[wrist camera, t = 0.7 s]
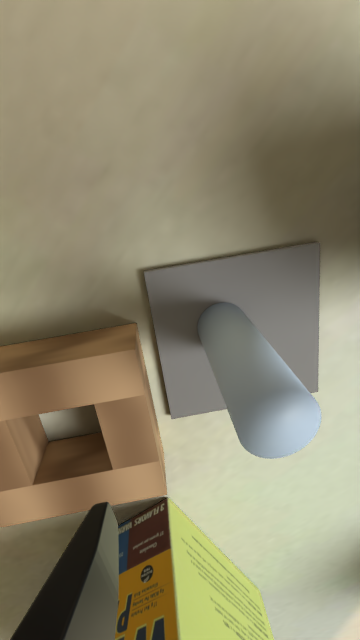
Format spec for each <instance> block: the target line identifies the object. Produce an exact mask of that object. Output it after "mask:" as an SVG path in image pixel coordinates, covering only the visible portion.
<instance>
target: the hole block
mask: <svg viewBox="0 0 360 640" xmlns="http://www.w3.org/2000/svg"><path fill="white" fill-rule="evenodd" d="M92 404H94V406H95V410H96V413H97V417H98V420H99V423H100V427H101V430H102V432H100V433H94V434H89V435H84V436H78V437H73V438H68V439H62V440H57V441H52V442H48V439H47V436H46V434H45V431H44V428H43V426H42V423H41V420H40V418H39V415H38V414H42V413H48V412H53V411H59V410H64V409H70V408H75V407H81V406H86V405H92ZM163 495H167V488H166V475H165V463H164V452H163V447H162V442H161V437H160V433H159V428H158V423H157V419H156V414H155V409H154V404H153V400H152V395H151V390H150V385H149V381H148V376H147V371H146V366H145V362H144V357H143V352H142V347H141V343H140V338H139V333H138V328H137V324H136V323H133V324H127V325H121V326H115V327H110V328H104V329H98V330H92V331H87V332H81V333H75V334H69V335H64V336H58V337H52V338H46V339H41V340H35V341H29V342H23V343H18V344H12V345H6V346H0V527H6V526H11V525H16V524H21V523H26V522H31V521H36V520H41V519H46V518H51V517H57V516H62V515H67V514H72V513H77V512H82V511H87V510H90V509H91V507H92V506H93V505H94V504H97V503H102V502H109V503H110V505H111V506H112V505H117V504H122V503H127V502H133V501H138V500H143V499H148V498H153V497H158V496H163Z"/></svg>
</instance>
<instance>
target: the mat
mask: <svg viewBox="0 0 360 640" xmlns="http://www.w3.org/2000/svg"><path fill="white" fill-rule="evenodd" d="M144 276H145V282H146V287H147V292H148V297H149V303H150V308H151V313H152V319H153V324H154V329H155V334H156V340H157V345H158V350H159V355H160V361H161V366H162V371H163V376H164V382H165V387H166V392H167V398H168V403H169V408H170V413H171V419H175V418H181V417H186V416H191V415H197V414H202V413H207V412H213V411H218V410H223V409H227V407H226V404H225V402H224V399H223V396H222V394H221V391H220V389H219V386H218V384H217V381H216V378H215V376H214V373H213V371H212V368H211V365H210V363H209V360H208V358H207V355H206V352H205V350H204V347H203V345H202V342H201V340H200V337H199V334H198V329H197V326H198V321H199V318H200V316H201V315H202V313H203V312H204V311H205V310H206V309H207V308H208V307H210V306H212V305H214V304H217V303H222V302H227V303H232V304H234V305H236V306H238V307H239V308H240V309H241V310H242V311H243V312H244V313H245V315H246V316H247V317H248V318H249V319H250V321H251V322H252V323H253V324H254V325H255V327H256V328H257V329H258V330H259V332H260V333H261V334H262V335H263V336H264V338H265V339H266V340H267V341H268V342H269V344H270V345H271V346H272V347H273V349H274V350H275V351H276V352H277V353H278V355H279V356H280V357H281V358H282V359H283V361H284V362H285V363H286V364H287V366H288V367H289V368H290V369H291V370H292V372H293V373H294V374H295V375H296V376H297V378H298V379H299V380H300V381H301V383H302V384H303V385H304V386H305V387H306V389H307V390H308V391H309V392H310V393H314V392H318V353H319V287H320V243H319V242H313V243H307V244H301V245H295V246H289V247H283V248H277V249H271V250H265V251H259V252H253V253H247V254H241V255H235V256H229V257H223V258H217V259H211V260H205V261H199V262H193V263H187V264H181V265H175V266H169V267H163V268H157V269H151V270H145V271H144Z"/></svg>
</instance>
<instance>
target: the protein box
mask: <svg viewBox="0 0 360 640" xmlns="http://www.w3.org/2000/svg"><path fill="white" fill-rule="evenodd" d="M118 543H119V596H118V610H117V621H116V632H115V640H274V638H273V635H272V631H271V628H270V624H269V621H268V618H267V614H266V611H265V607H264V604H263V600H262V597H261V593H260V591H259V589H258V588H257V587H256V586H255V585H254V584H253V583H252V582H251V581H250V580H249V579H248V578H247V577H246V576H245V575H244V574H243V573H242V572H241V571H240V570H239V569H238V568H237V567H236V566H235V565H234V564H233V563H232V562H231V561H230V560H229V559H228V558H227V557H226V556H225V555H224V554H223V553H222V552H221V551H220V550H219V549H218V548H217V547H216V546H215V545H214V544H213V543H212V542H211V541H210V540H209V539H208V538H207V537H206V535H205V534H204V533H203V532H202V531H201V530H200V529H199V528H198V527H197V526H196V525H195V524H194V523H193V522H192V521H191V520H190V519H189V518H188V517H187V516H186V515H185V514H184V513H183V512H182V511H181V510H180V509H179V508H178V507H177V506H176V505H175V504H174V503H173V502H172V501H171V500H170V499H169V498H166V499H164V500H163V501H161V502H160V503H158V504H156V505H154V506H153V507H151V508H149V509H147V510H146V511H144V512H142V513H140V514H138V515H137V516H135V517H133V518H132V519H130V520H128V521H126V522H124V523H123V524H121V525H119V526H118Z"/></svg>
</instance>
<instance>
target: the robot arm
mask: <svg viewBox="0 0 360 640" xmlns="http://www.w3.org/2000/svg"><path fill="white" fill-rule="evenodd" d="M118 596H119V543H118V523H117V520H116V517H115V515H114V512H113V510H112V508H111V505H110V503H109V502H102V503H97V504H94V505H93V506H92V507H91V509H90V511H89V512H88V514H87V515H86V517H85V519H84V520H83V522H82V524H81V525H80V527H79V528H78V530H77V532H76V533H75V535H74V537H73V538H72V540H71V541H70V543H69V545H68V546H67V548H66V550H65V551H64V553H63V554H62V556H61V558H60V559H59V561H58V563H57V564H56V566H55V567H54V569H53V571H52V572H51V574H50V576H49V577H48V579H47V581H46V582H45V584H44V585H43V587H42V589H41V590H40V592H39V594H38V595H37V597H36V598H35V600H34V602H33V603H32V605H31V607H30V608H29V610H28V611H27V613H26V615H25V616H24V618H23V620H22V621H21V623H20V624H19V626H18V628H17V629H16V631H15V633H14V634H13V636H12V637H11V639H10V640H115V632H116V621H117V610H118Z"/></svg>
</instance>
